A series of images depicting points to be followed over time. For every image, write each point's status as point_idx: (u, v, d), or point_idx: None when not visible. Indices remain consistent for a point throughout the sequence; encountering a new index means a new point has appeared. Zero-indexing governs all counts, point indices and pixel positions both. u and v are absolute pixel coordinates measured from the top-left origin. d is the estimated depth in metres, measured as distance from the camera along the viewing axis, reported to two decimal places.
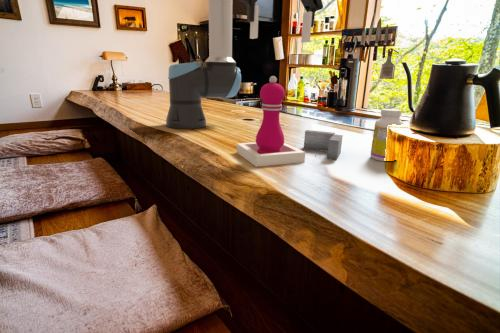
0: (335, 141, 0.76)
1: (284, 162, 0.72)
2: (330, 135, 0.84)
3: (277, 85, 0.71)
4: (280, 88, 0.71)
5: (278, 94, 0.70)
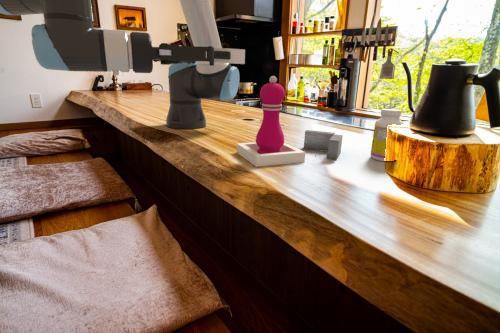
0: (335, 141, 0.76)
1: (284, 162, 0.72)
2: (330, 135, 0.84)
3: (277, 85, 0.71)
4: (280, 88, 0.71)
5: (278, 94, 0.70)
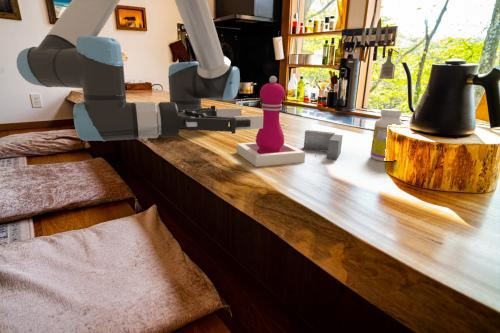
0: (335, 141, 0.76)
1: (284, 162, 0.72)
2: (330, 135, 0.84)
3: (277, 85, 0.71)
4: (280, 88, 0.71)
5: (278, 94, 0.70)
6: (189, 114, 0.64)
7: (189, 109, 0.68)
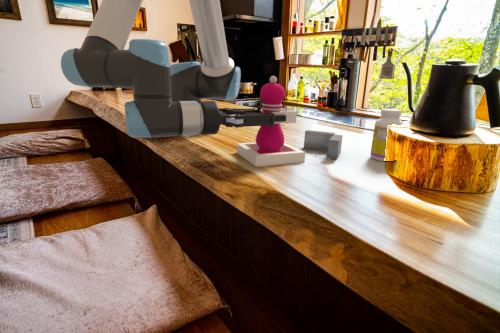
0: (335, 141, 0.76)
1: (284, 162, 0.72)
2: (330, 135, 0.84)
3: (277, 85, 0.71)
4: (280, 88, 0.71)
5: (278, 94, 0.70)
6: (230, 112, 0.68)
7: (227, 108, 0.71)
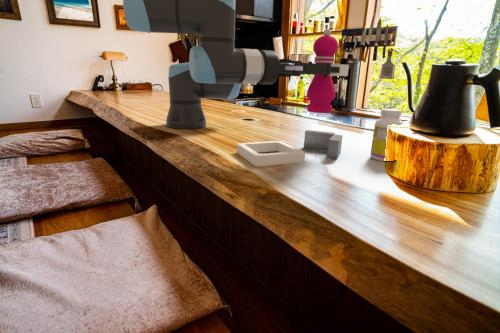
0: (335, 141, 0.76)
1: (284, 162, 0.72)
2: (330, 135, 0.84)
3: (332, 37, 0.72)
4: (335, 40, 0.72)
5: (333, 46, 0.72)
6: (287, 62, 0.70)
7: None
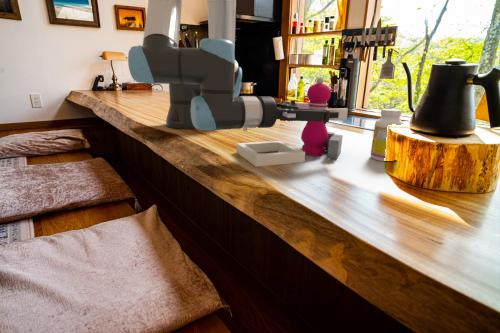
0: (335, 141, 0.76)
1: (284, 162, 0.72)
2: (330, 135, 0.84)
3: (324, 85, 0.76)
4: (327, 88, 0.76)
5: (325, 94, 0.76)
6: (283, 107, 0.73)
7: (280, 103, 0.76)
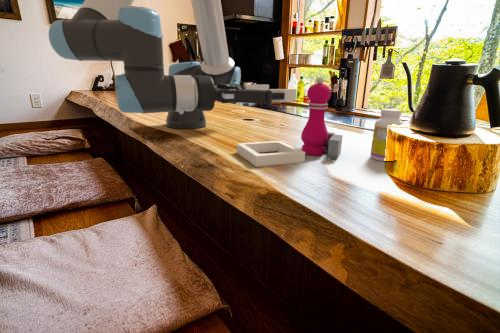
0: (335, 141, 0.76)
1: (284, 162, 0.72)
2: (330, 135, 0.84)
3: (324, 85, 0.76)
4: (327, 88, 0.76)
5: (325, 94, 0.76)
6: (224, 87, 0.66)
7: (222, 83, 0.69)
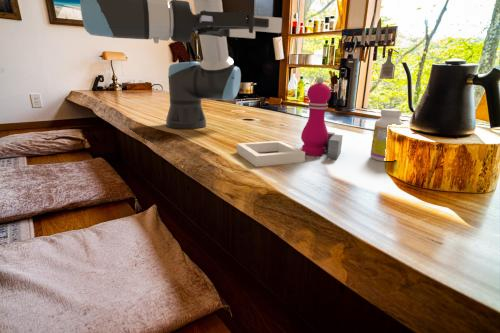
0: (335, 141, 0.76)
1: (284, 162, 0.72)
2: (330, 135, 0.84)
3: (324, 85, 0.76)
4: (327, 88, 0.76)
5: (325, 94, 0.76)
6: None
7: None
